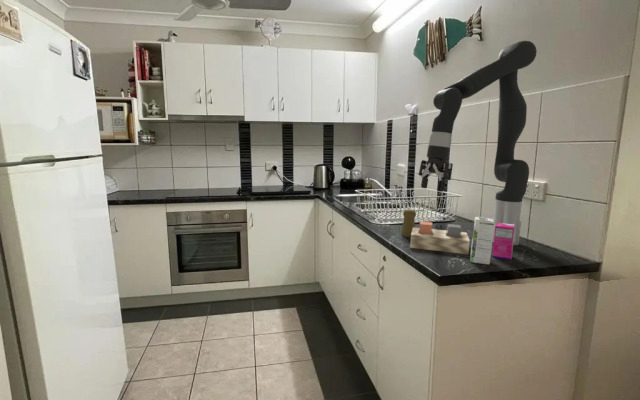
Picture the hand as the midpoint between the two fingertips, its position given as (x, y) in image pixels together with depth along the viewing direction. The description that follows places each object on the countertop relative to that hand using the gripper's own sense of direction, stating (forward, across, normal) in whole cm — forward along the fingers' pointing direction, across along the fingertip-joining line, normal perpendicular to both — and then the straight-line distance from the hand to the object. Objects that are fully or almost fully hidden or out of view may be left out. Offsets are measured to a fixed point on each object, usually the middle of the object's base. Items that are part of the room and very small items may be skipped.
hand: (431, 189), depth 122 cm
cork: (+22, +15, -5) cm, 27 cm away
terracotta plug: (+18, +1, -2) cm, 18 cm away
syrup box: (+21, -20, -8) cm, 30 cm away
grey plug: (+17, -5, -9) cm, 20 cm away
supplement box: (+20, -19, -19) cm, 33 cm away
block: (+21, -2, -6) cm, 22 cm away
